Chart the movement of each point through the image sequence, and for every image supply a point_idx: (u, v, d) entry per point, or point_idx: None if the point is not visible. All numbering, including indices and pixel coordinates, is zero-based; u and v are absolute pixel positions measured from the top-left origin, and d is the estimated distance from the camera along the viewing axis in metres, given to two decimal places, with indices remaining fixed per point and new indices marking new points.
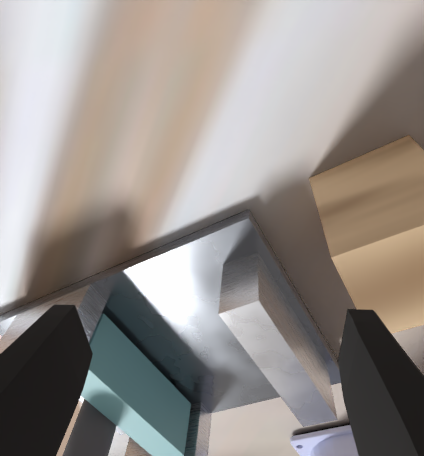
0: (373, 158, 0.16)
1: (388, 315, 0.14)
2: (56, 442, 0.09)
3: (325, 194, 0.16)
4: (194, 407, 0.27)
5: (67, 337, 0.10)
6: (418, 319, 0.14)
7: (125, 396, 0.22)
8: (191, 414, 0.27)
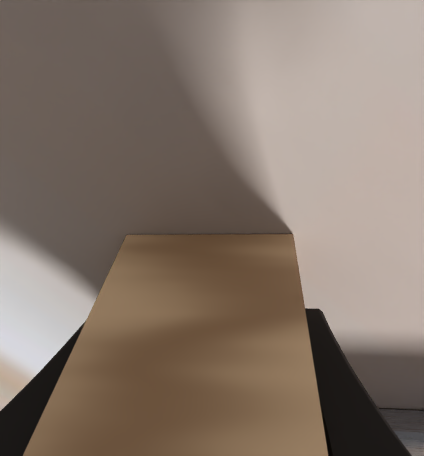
0: None
1: None
2: None
3: None
4: None
5: None
6: None
7: None
8: None
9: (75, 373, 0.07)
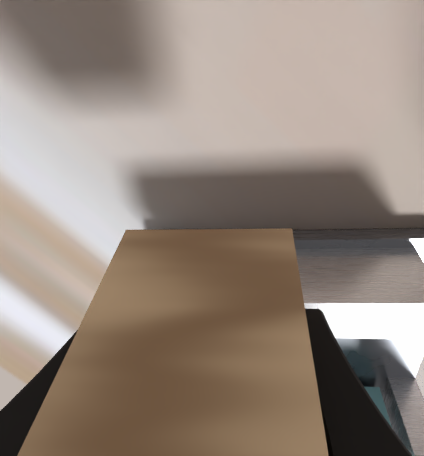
0: None
1: None
2: None
3: None
4: (388, 387, 0.22)
5: None
6: None
7: None
8: (389, 396, 0.22)
9: (74, 365, 0.07)
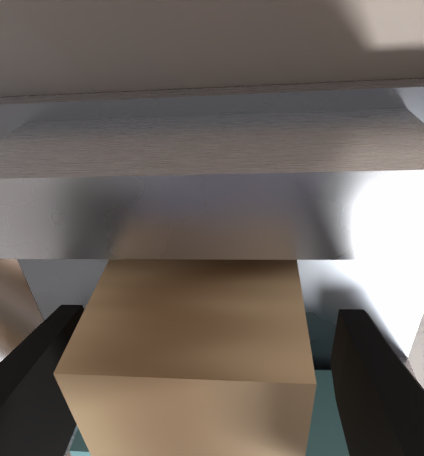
0: None
1: None
2: (64, 442, 0.09)
3: None
4: None
5: None
6: None
7: None
8: None
9: (98, 306, 0.08)
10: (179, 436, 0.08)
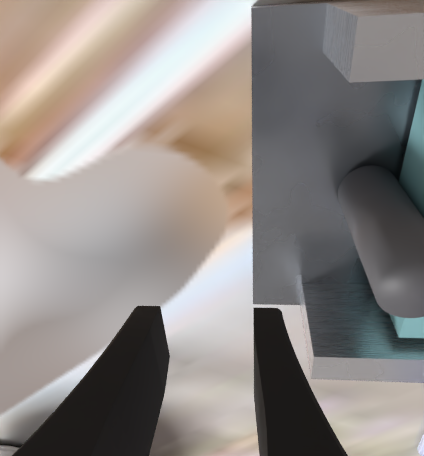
0: None
1: None
2: (147, 447, 0.09)
3: None
4: None
5: (156, 339, 0.09)
6: None
7: None
8: None
9: None
10: None
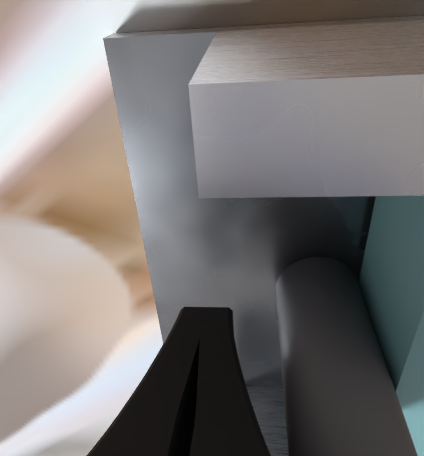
0: None
1: None
2: None
3: None
4: None
5: None
6: None
7: None
8: None
9: None
10: None
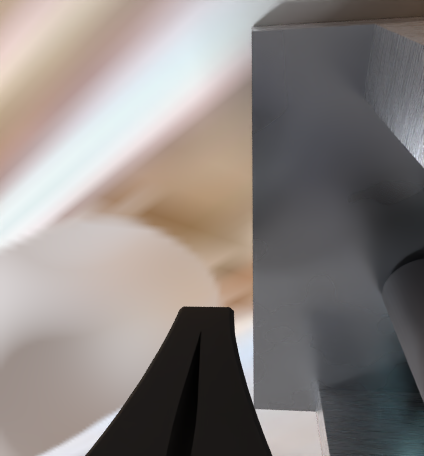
0: None
1: None
2: None
3: None
4: None
5: None
6: None
7: None
8: None
9: None
10: None
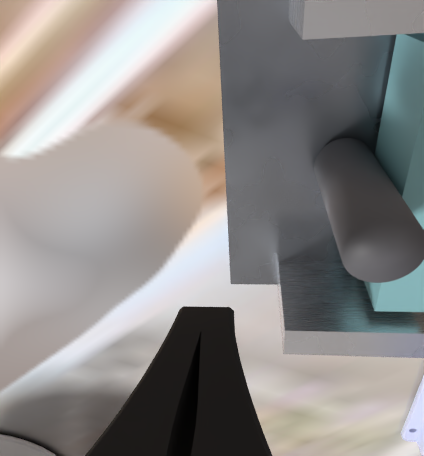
0: None
1: None
2: None
3: None
4: None
5: None
6: None
7: None
8: None
9: None
10: None
